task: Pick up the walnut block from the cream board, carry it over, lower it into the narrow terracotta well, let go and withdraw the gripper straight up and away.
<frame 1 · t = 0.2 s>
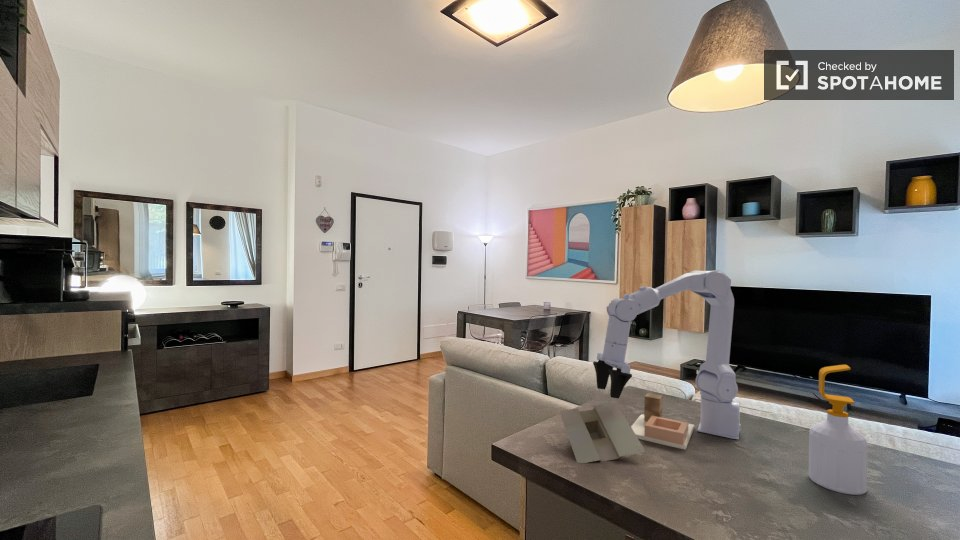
hand: (607, 393, 110), 11 cm above the countertop, tool pointing down, fingers open, 7 cm apart
terracotta well: (666, 434, 106), resting on cream board
walnut block: (653, 420, 116), point 1 cm above the countertop, touching cream board
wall: (599, 451, 99), on the countertop
cream board: (661, 432, 110), on the countertop
soap bottle: (836, 485, 84), on the countertop
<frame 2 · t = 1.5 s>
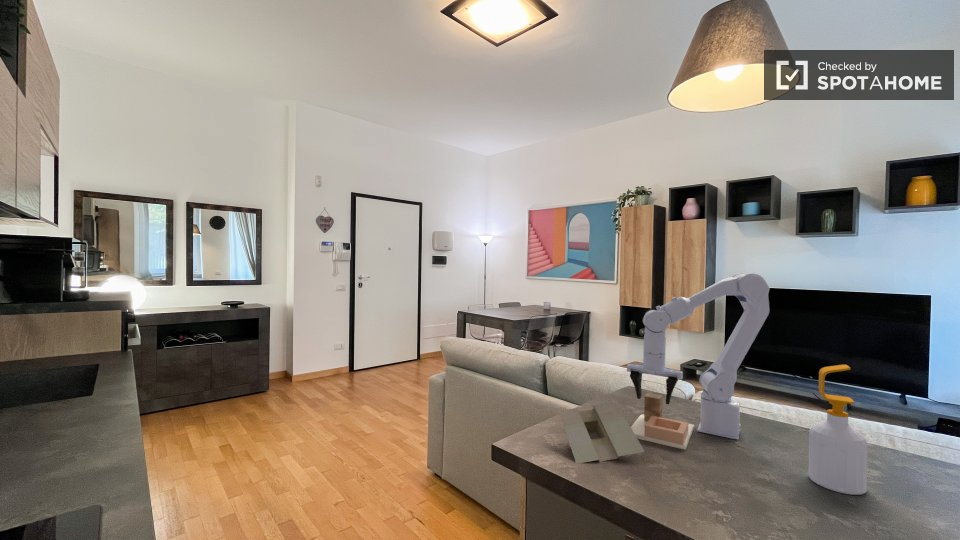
hand: (653, 400, 116), 7 cm above the countertop, tool pointing down, fingers open, 7 cm apart
nothing on the countertop moved.
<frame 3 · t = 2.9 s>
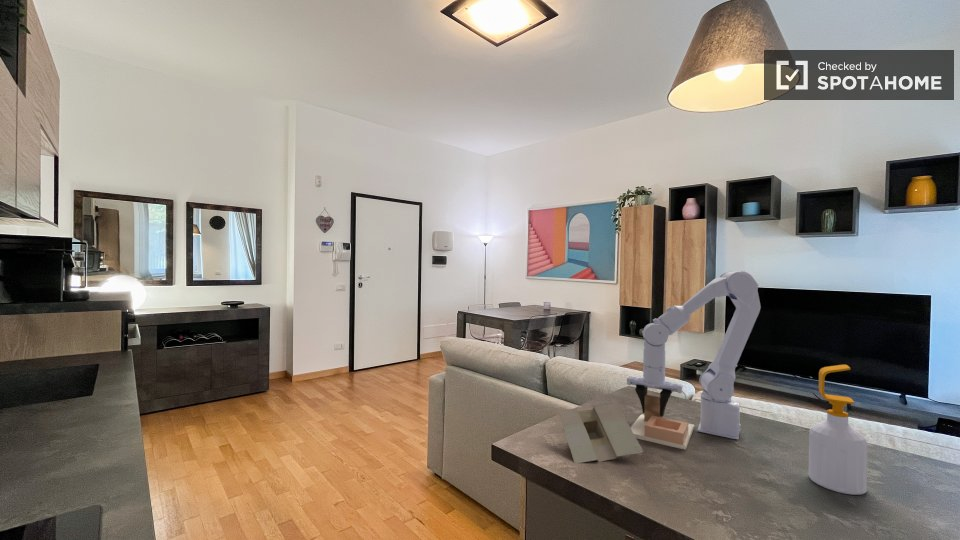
hand: (653, 413, 116), 3 cm above the countertop, tool pointing down, fingers closed on walnut block, 4 cm apart
walnut block: (653, 420, 116), point 1 cm above the countertop, touching cream board, gripper
everything else where it was.
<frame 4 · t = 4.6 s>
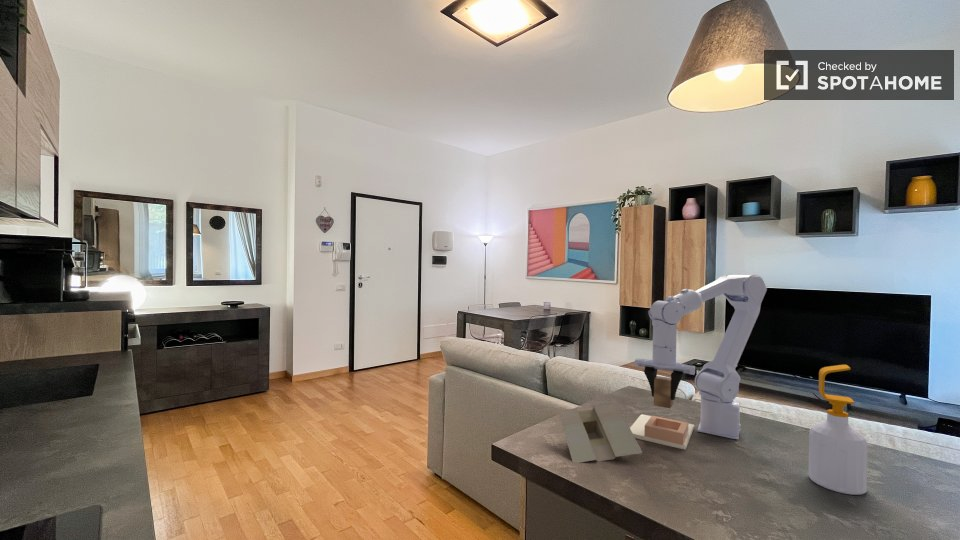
hand: (663, 397, 109), 10 cm above the countertop, tool pointing down, fingers closed on walnut block, 4 cm apart
walnut block: (663, 404, 109), point 8 cm above the countertop, touching gripper
everything else where it was.
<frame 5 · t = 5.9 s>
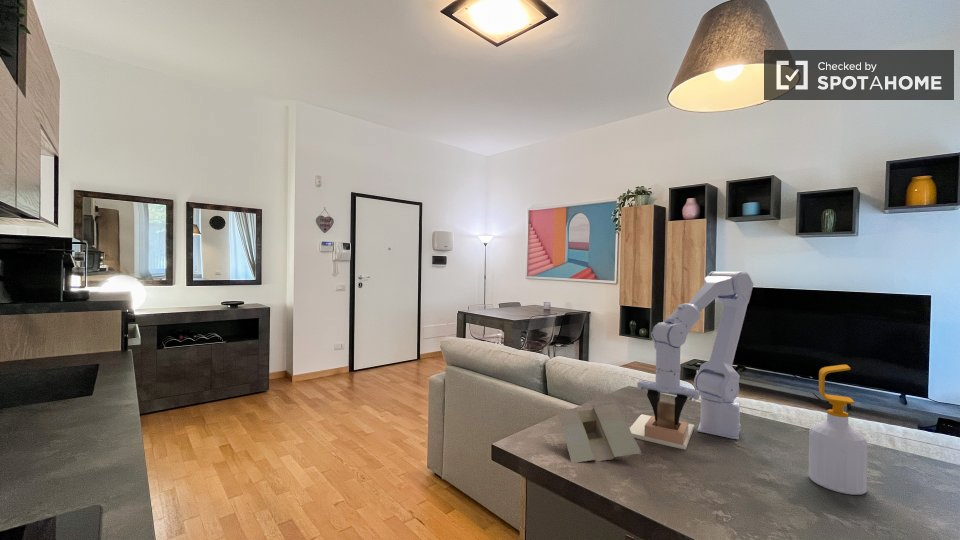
hand: (666, 421, 106), 4 cm above the countertop, tool pointing down, fingers closed on walnut block, 4 cm apart
walnut block: (666, 429, 106), point 2 cm above the countertop, touching gripper
everything else where it was.
when the fingers open (4 cm above the countertop, at t = 6.6 s): walnut block drops 1 cm, resting on cream board.
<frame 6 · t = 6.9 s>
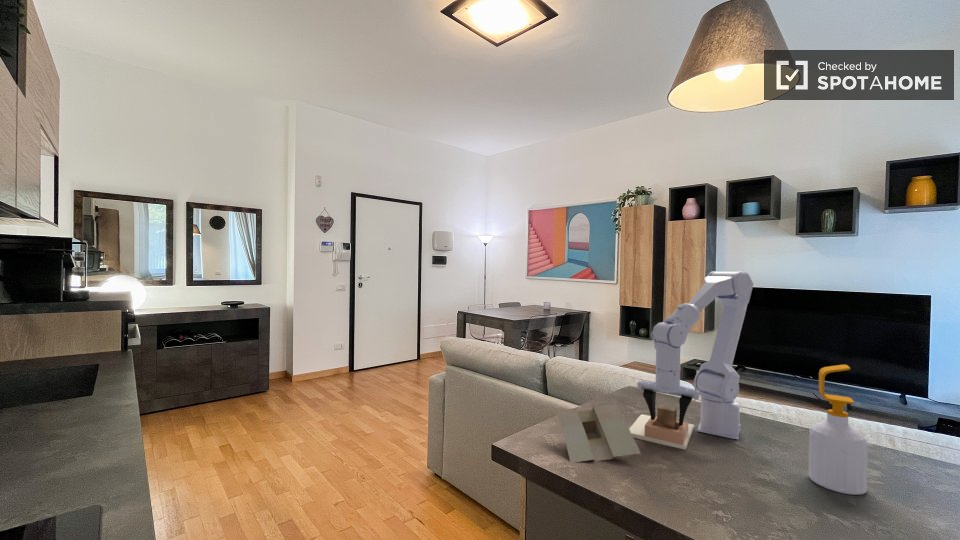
hand: (666, 421, 106), 4 cm above the countertop, tool pointing down, fingers open, 6 cm apart
walnut block: (666, 434, 106), point 1 cm above the countertop, touching cream board
everything else where it was.
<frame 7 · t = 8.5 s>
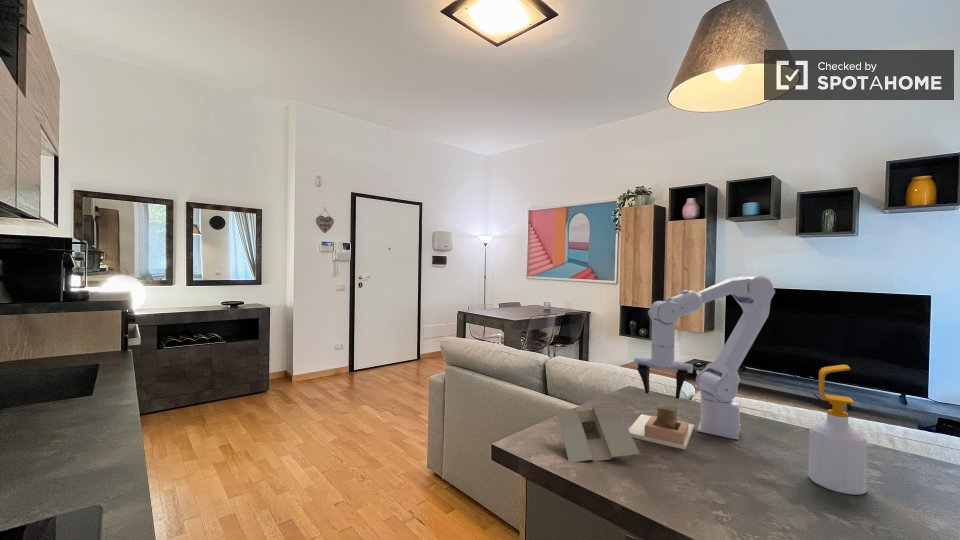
hand: (662, 395, 112), 10 cm above the countertop, tool pointing down, fingers open, 7 cm apart
nothing on the countertop moved.
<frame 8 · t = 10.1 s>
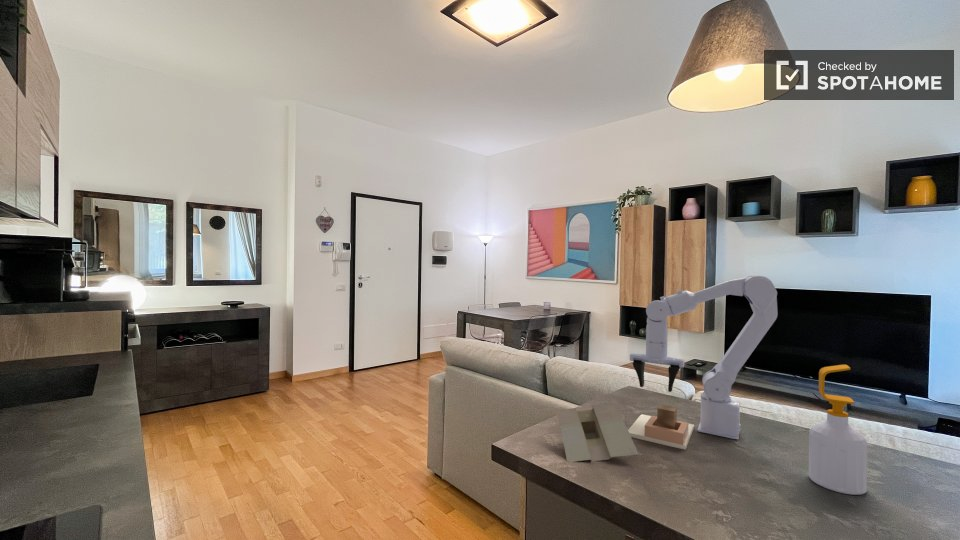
hand: (655, 388, 119), 9 cm above the countertop, tool pointing down, fingers open, 7 cm apart
at the end: walnut block 0.1 cm off-centre on the terracotta well, point 0.0 cm above the terracotta well's base; walnut block tilted 0°; the gripper is holding nothing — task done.
